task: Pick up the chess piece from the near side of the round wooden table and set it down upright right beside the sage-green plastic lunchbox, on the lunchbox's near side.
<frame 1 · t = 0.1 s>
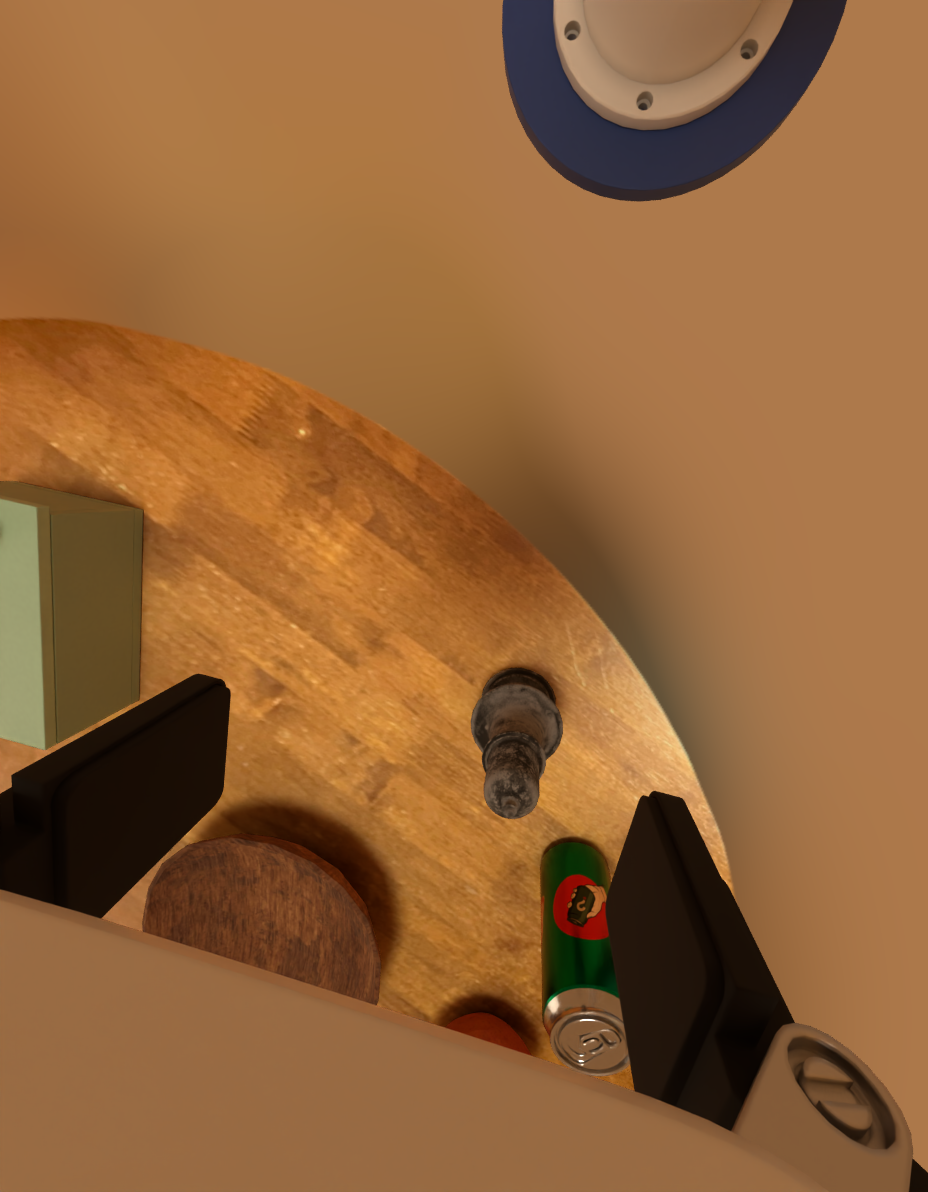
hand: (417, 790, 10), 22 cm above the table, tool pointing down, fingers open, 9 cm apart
lunchbox: (80, 594, 37), on the table
soda can: (573, 863, 36), on the table
chess piece: (518, 701, 34), on the table
fruit: (485, 1029, 41), on the table
bowl: (289, 904, 41), on the table
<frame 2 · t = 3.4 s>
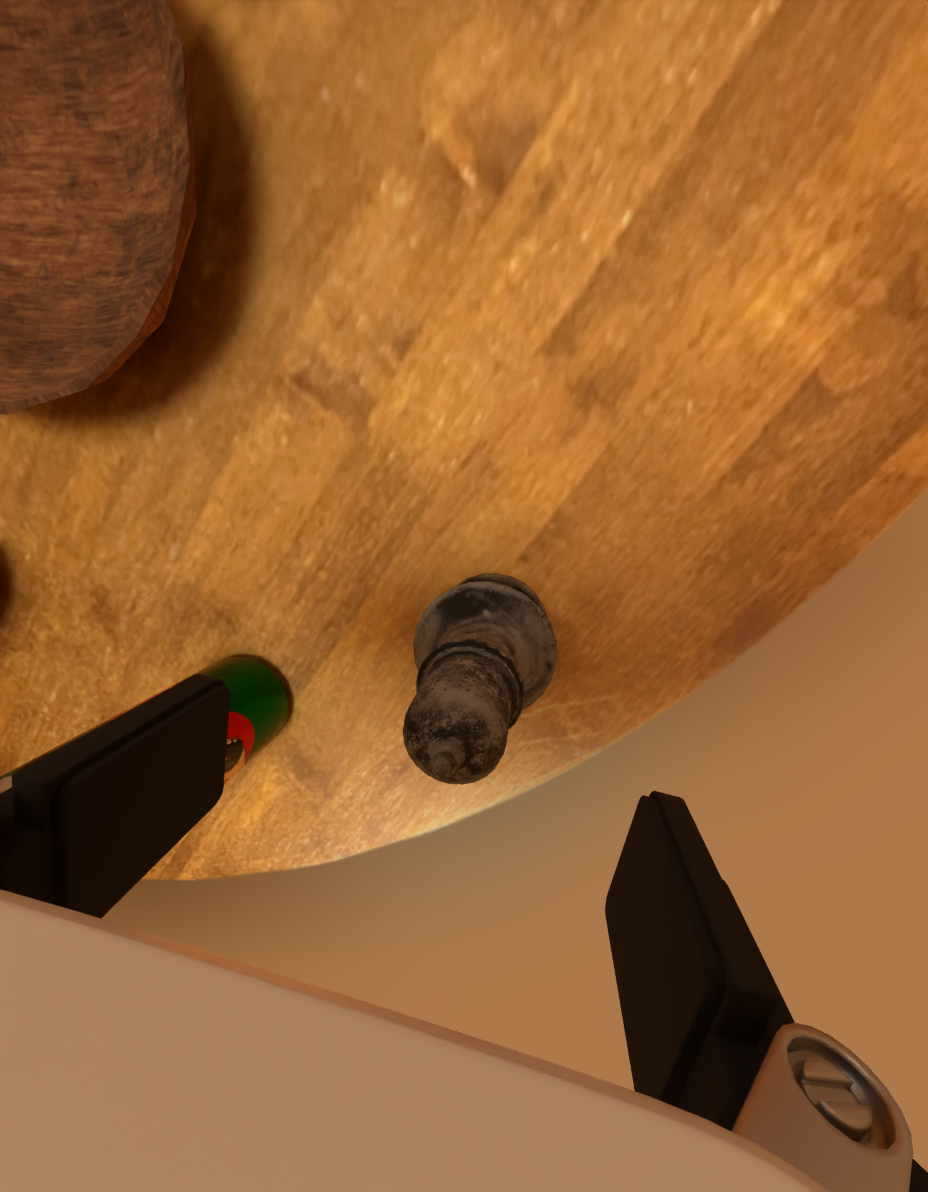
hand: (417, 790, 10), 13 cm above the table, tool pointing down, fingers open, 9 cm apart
soda can: (253, 695, 26), on the table
chess piece: (492, 626, 23), on the table
bowl: (51, 202, 22), on the table
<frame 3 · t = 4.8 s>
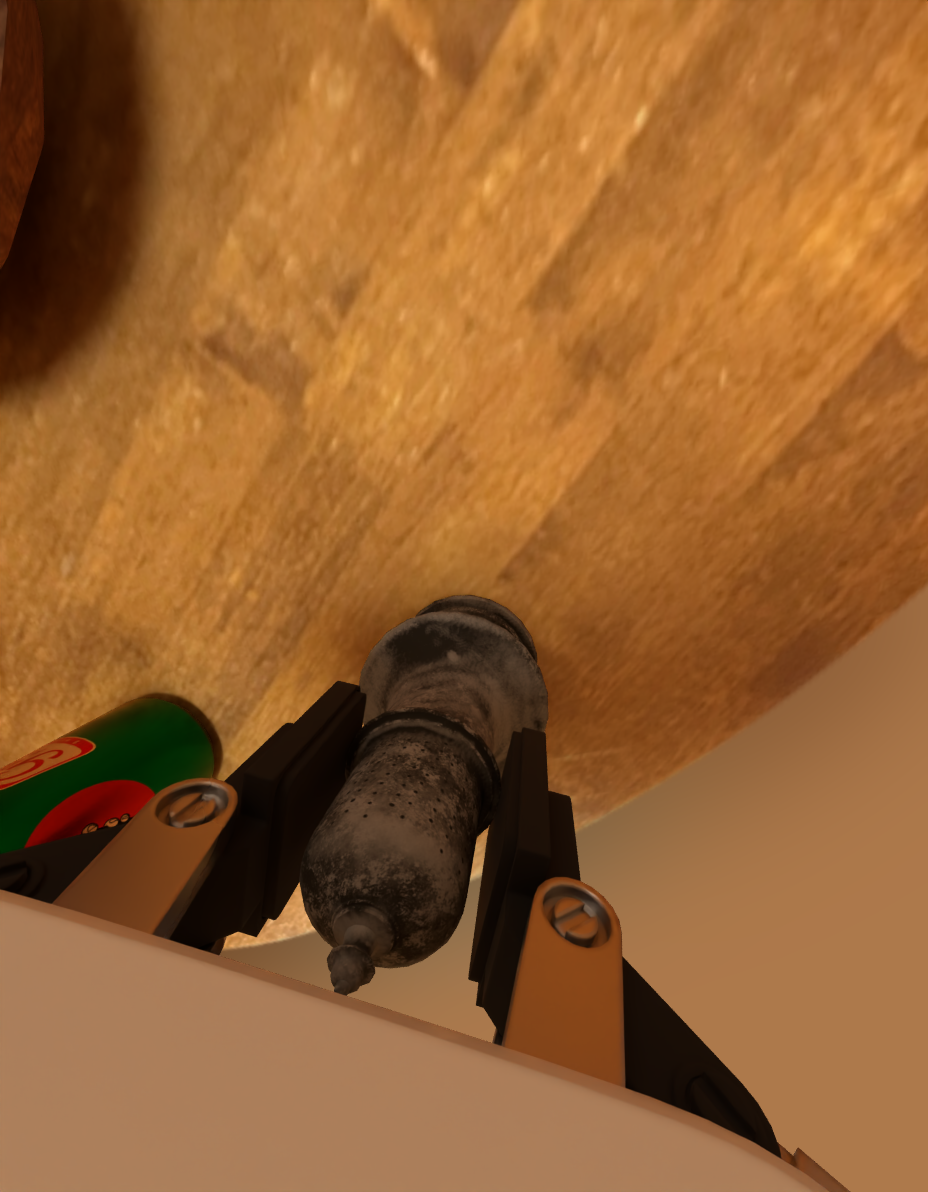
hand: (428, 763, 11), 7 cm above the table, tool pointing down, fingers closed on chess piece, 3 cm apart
soda can: (173, 742, 21), on the table
chess piece: (467, 661, 18), on the table, touching gripper
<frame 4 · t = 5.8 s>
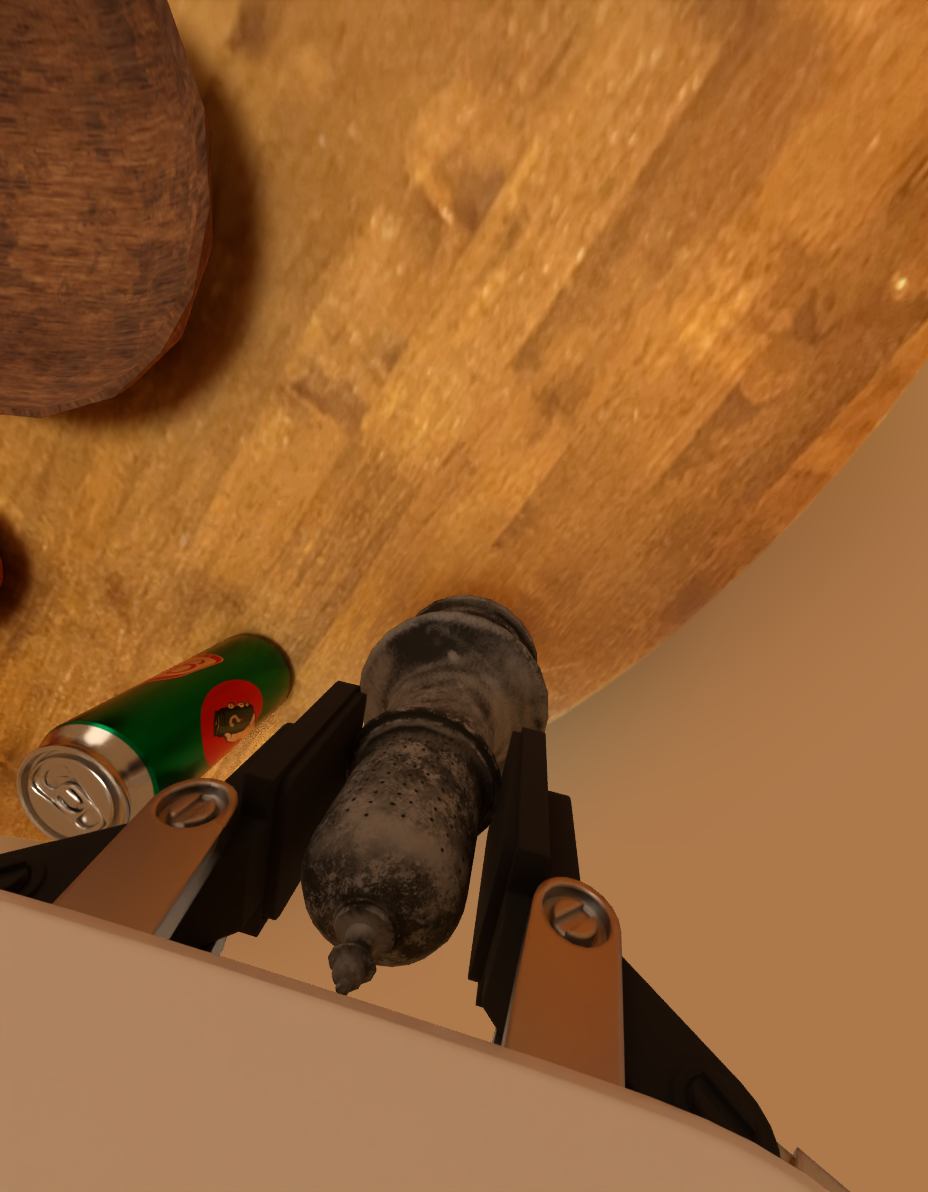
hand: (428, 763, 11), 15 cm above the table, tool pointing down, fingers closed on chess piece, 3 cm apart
soda can: (257, 670, 29), on the table
chess piece: (467, 661, 18), point 8 cm above the table, touching gripper
bowl: (71, 225, 24), on the table
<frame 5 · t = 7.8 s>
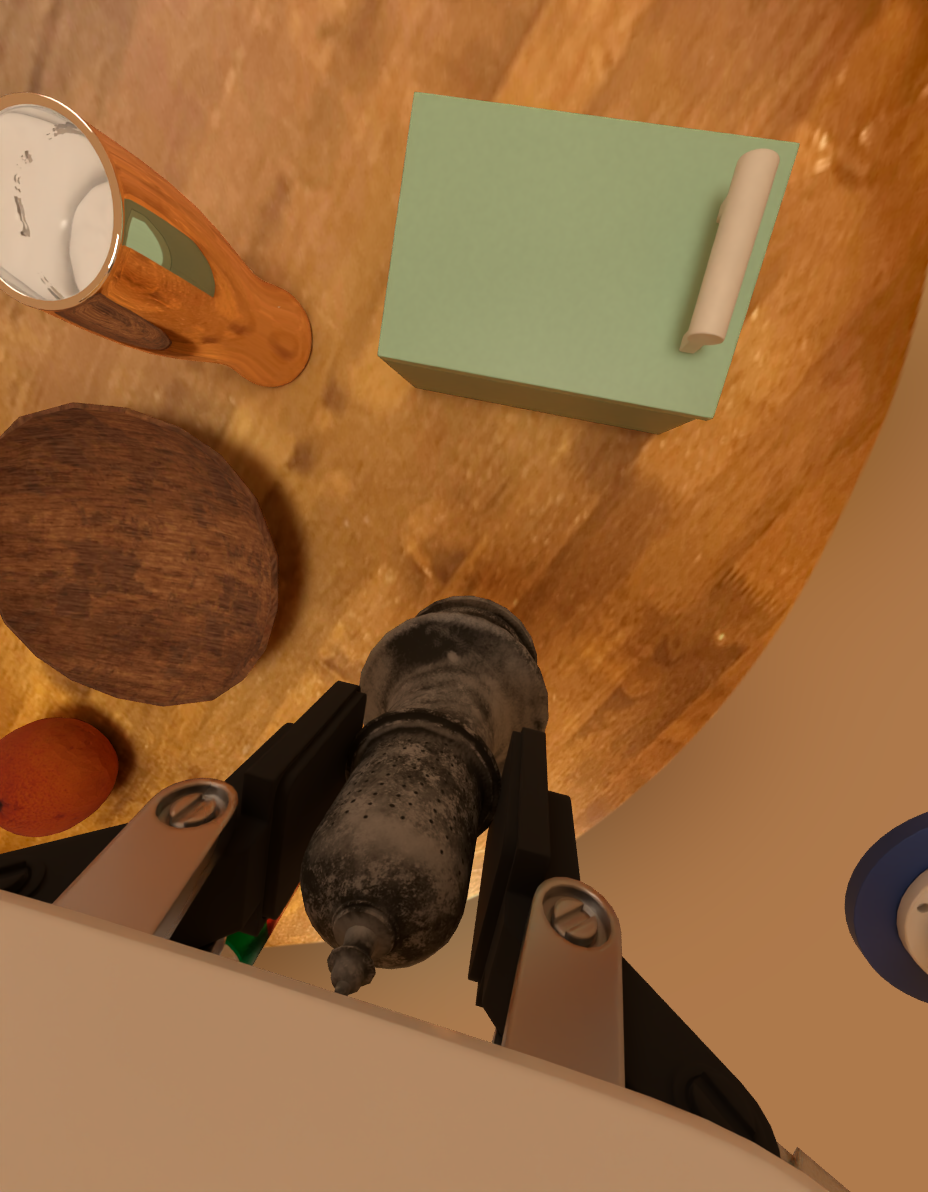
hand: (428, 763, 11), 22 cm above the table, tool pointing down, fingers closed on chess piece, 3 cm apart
lunchbox: (554, 318, 28), on the table
soda can: (294, 835, 40), on the table
chess piece: (467, 661, 18), point 15 cm above the table, touching gripper
lunchbox lid: (570, 246, 20), point 9 cm above the table, hinge at 0.0°
fruit: (93, 748, 41), on the table
bowl: (177, 554, 36), on the table
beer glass: (270, 338, 31), on the table
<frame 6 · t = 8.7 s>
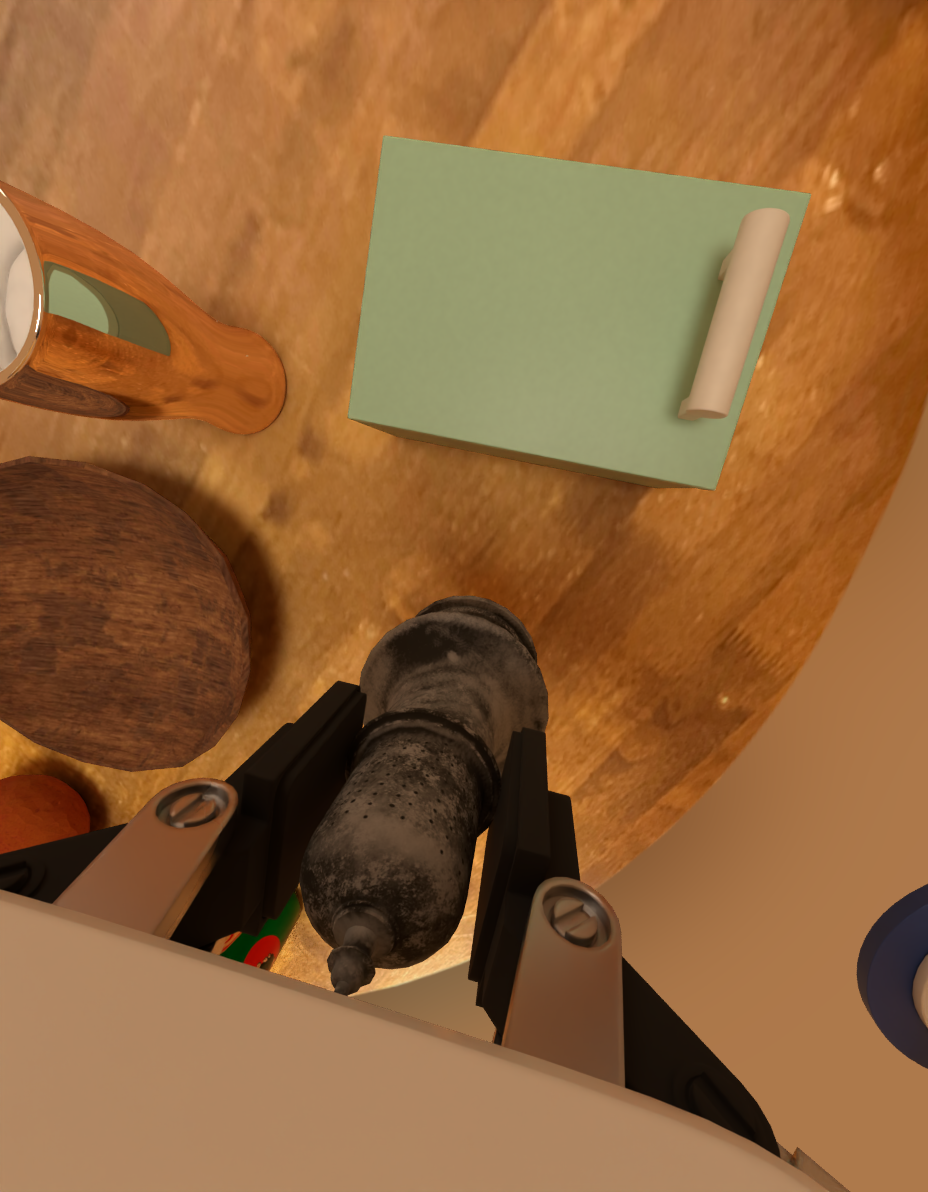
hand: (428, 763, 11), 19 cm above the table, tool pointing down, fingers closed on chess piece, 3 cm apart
lunchbox: (544, 364, 26), on the table
soda can: (275, 895, 38), on the table
chess piece: (467, 661, 18), point 12 cm above the table, touching gripper
lunchbox lid: (555, 306, 18), point 9 cm above the table, hinge at 0.0°
fruit: (65, 802, 39), on the table
bowl: (148, 605, 34), on the table
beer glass: (242, 383, 29), on the table
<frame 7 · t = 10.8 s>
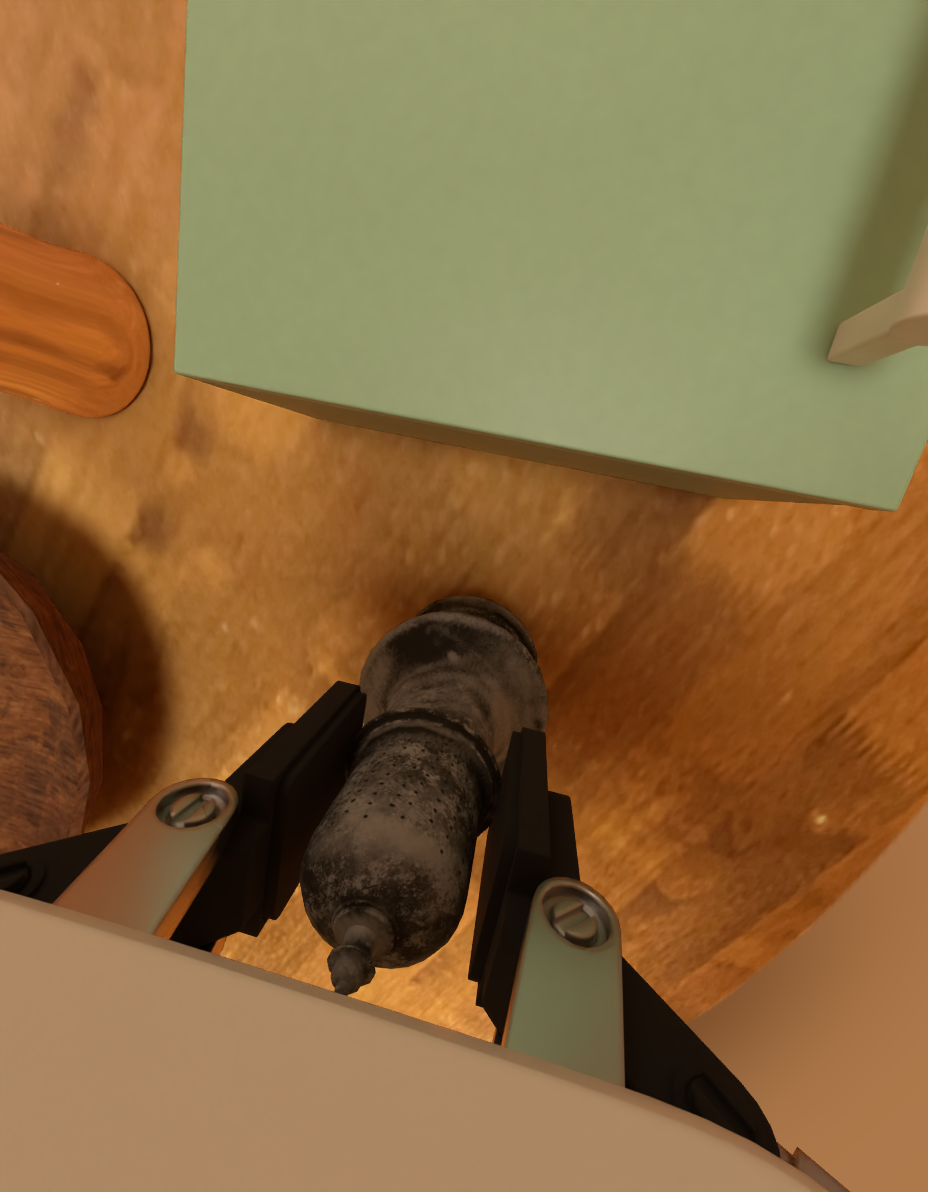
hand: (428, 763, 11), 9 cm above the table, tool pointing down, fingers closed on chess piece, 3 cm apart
lunchbox: (545, 301, 16), on the table
chess piece: (467, 661, 18), point 2 cm above the table, touching gripper
lunchbox lid: (573, 98, 8), point 9 cm above the table, hinge at 0.0°
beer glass: (89, 340, 19), on the table
when the fingers open (7 cm above the table, at t = 11.7 s): chess piece stays where it is, on the table.
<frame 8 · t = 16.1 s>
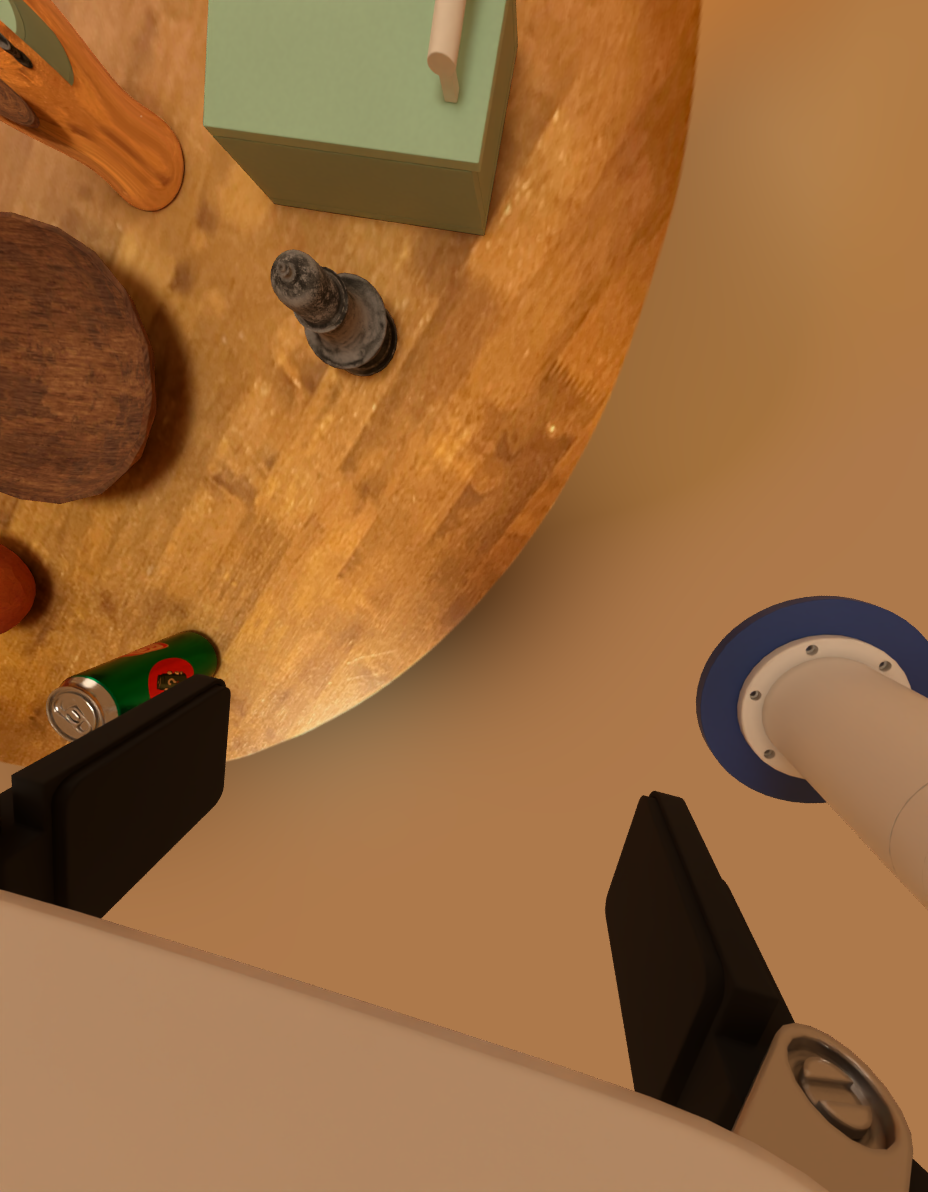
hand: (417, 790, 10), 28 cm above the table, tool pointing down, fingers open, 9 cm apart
lunchbox: (388, 130, 32), on the table
soda can: (197, 654, 44), on the table
chess piece: (364, 339, 35), on the table
lunchbox lid: (339, 0, 23), point 9 cm above the table, hinge at 0.0°
fruit: (16, 579, 45), on the table
bowl: (79, 380, 39), on the table
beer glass: (149, 165, 35), on the table
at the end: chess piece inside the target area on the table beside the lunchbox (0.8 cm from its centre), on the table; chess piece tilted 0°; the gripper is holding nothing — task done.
